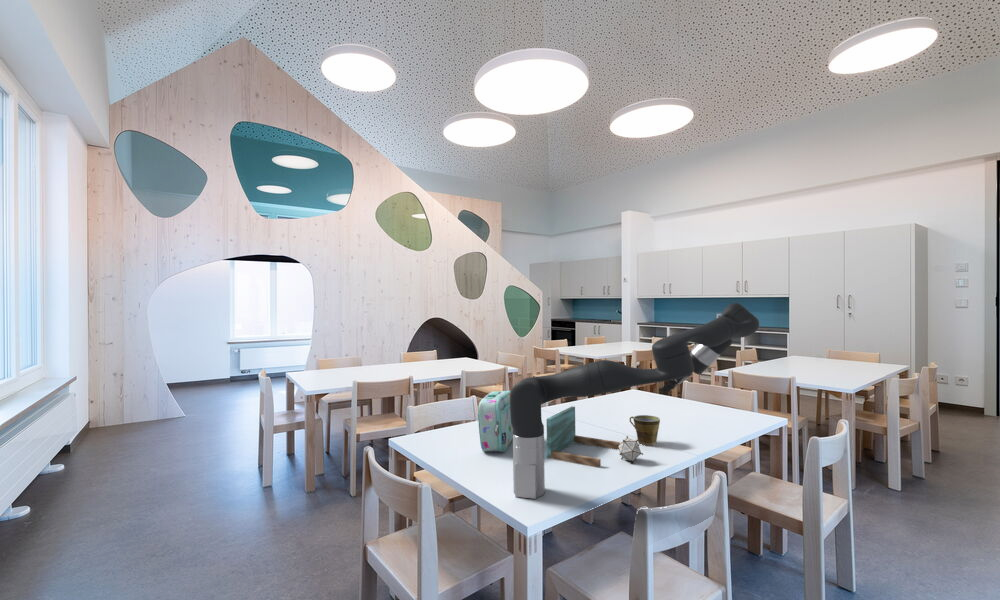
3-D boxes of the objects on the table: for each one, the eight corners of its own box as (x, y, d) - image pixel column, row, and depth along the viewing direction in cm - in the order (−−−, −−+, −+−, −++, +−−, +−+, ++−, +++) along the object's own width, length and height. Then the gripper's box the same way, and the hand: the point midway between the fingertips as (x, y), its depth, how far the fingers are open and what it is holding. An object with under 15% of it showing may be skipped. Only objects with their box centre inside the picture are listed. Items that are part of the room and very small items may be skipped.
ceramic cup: (665, 444, 177) (665, 418, 177) (650, 449, 171) (649, 422, 171) (637, 436, 187) (637, 412, 187) (622, 441, 181) (621, 416, 181)
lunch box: (504, 457, 164) (503, 398, 164) (477, 456, 166) (476, 397, 166) (516, 436, 190) (515, 385, 190) (492, 435, 192) (492, 384, 192)
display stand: (619, 448, 172) (619, 411, 172) (599, 467, 153) (598, 426, 153) (572, 441, 182) (571, 406, 183) (547, 457, 163) (546, 418, 163)
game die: (626, 469, 160) (621, 442, 167) (649, 464, 156) (643, 436, 163) (615, 463, 155) (610, 434, 161) (638, 457, 151) (633, 429, 157)
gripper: (705, 368, 137) (669, 403, 144) (715, 361, 148) (680, 393, 155) (686, 351, 140) (651, 385, 147) (697, 345, 152) (664, 377, 158)
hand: (666, 389), depth 151 cm, fingers open, 8 cm apart
